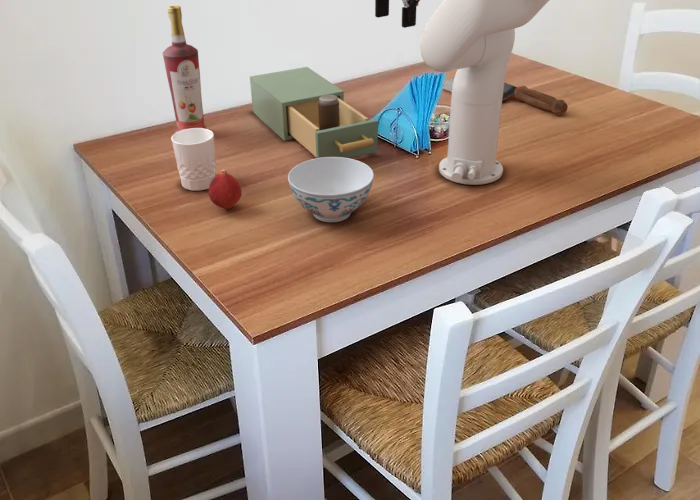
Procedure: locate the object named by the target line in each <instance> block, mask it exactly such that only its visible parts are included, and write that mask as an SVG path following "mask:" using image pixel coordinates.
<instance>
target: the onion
mask: <svg viewBox="0 0 700 500" xmlns="http://www.w3.org/2000/svg"><path fill="white" fill-rule="evenodd" d="M208 197H209V200H210V201H211V203H212V204H214V205H215V206H217V207H218V208H221V209H224V210H226V211H228V210H231V209H232V208H233V207H234V206H235V205H236V204H237V203H239V201H240V200H241V197H242V187H241V184H240V181H238V179H237V178H235V177H234V176H233V175H232V174H229V173H228V171H227V170H226V169H221V170H220V171H219V173H218V174H216V176H215V177H214V178H213V180H212V181H211V183H210V185H209V188H208Z"/></svg>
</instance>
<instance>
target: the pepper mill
mask: <svg viewBox="0 0 700 500" xmlns="http://www.w3.org/2000/svg"><path fill="white" fill-rule="evenodd" d="M318 113H319V131H320V130H325V129H330V128H334V127H339V126H340V116H339V101H338V97H337V96H335V95H323V96H321V97H320V98H319V102H318Z"/></svg>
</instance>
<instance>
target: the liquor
mask: <svg viewBox="0 0 700 500" xmlns="http://www.w3.org/2000/svg"><path fill="white" fill-rule="evenodd" d="M166 9H167V15H168V19H169V23H170V32H171V34H170V35H171V45H169V46H168V47H167V48H165V49H164V51H162V56H163V62H164V68H165V72H166V78H167V82H168V87H169V91H170V96H171V101H172V106H173V112H174V117H175V123H176V129H175V133H176V132H178V131H181V130H184V129H190V128H204V129H208V128H207V126H206V124H205V119H204V109H203V98H202V85H201V84H202V83H201V70H200V60H199V50H198V49H197V48H196V47H194V46H193V45H191V44H188V43H187V39H186V36H185V35H186V34H185V31H184V26H183V20H182V18H183V17H182V16H183V14H182V7H181V6H180V5H169V6H167V8H166Z"/></svg>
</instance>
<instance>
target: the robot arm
mask: <svg viewBox="0 0 700 500" xmlns="http://www.w3.org/2000/svg"><path fill="white" fill-rule="evenodd" d="M401 1H402V4H403V7H401V27H402V28H403V29H404V28H410V27H416V25H417V7H419V2H420V1H421V0H401ZM549 1H550V0H442V1H441V2H440V3H439V5H438V6H437V8H436V9H435V10H434V11H433V13H432V14H431V15H430V17H429V19H428V20H427V22H426V24H425V25H424V27H423V29H422V32H421V34H420V35H421V36H420V40H419V51H420V55H421V58H422V60H423V62H424V63H425V64H426V66H427V67H428V68H430V69H432V70H433V71H436V72H440V73H446V72H453V71H456V72H455V75H454V76H453V77H454V81H453V85H452V92H451V97H450V109H449V110H450V112H449V125H448V127H449V128H448V142H447V143H448V144H447V156H446V157H444V158H443V159H441V161H439V164H438V172H439V173H440V175H441V176H442V177H444V178H445V179H447V180H448V181H451V182H453V183H457V184H462V185H469V186H472V185H473V186H478V185H486V184H491V183H493V182H497V181H498V180H499V179H500V178H501V177H502V176H503V174H504V166H503V164H502V163H501V162H500V161H498V160H497V152H498V144H499V134H500V124H501V115H502V105H503V100H502V98H503V90H504V82H505V81H506V74H507V70H508V65H509V61H510V59H511V55H512V52H513V48H514V45H515V39H516V30H515V29H518V28H521V27H524V26H525V25H527V24H528V23H529V22H530V21H532V19H533V18H535V17H536V16H537V14H538V13H539V12H540V11H541V10H542V9H543V8H544V7H545V6H546V4H548V2H549ZM389 15H390V0H374V16H375V18H377V19H378V18H383V17H388V16H389Z"/></svg>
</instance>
